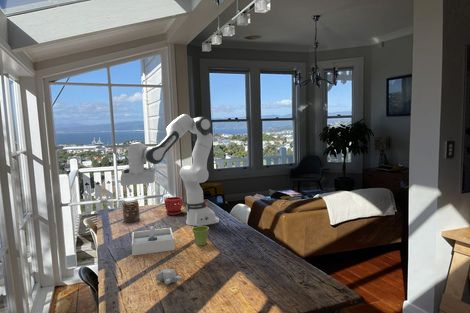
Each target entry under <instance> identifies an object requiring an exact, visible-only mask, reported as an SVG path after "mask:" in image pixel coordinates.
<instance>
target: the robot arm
mask: <svg viewBox="0 0 470 313" xmlns="http://www.w3.org/2000/svg"><path fill="white" fill-rule="evenodd" d="M187 132H188V133H190V134H191V135H196V141H195V143H194V147H193V150H192V153H191V158H192V164H187V165H183V166H182V167H181V168H180V169H179V176H180V179H181V180H182V182H183V185H184V188H185V192H186V206H185V207H186V211H187V212H186V214H187V215H186V222H185V224H186V225H187V226H188V225H189V226H195V227H198V226H207V225H213V224H218V223H219V222H220V218H218V217H217V216H216V212H215V211H214V210H212V209H211V208H209V207H208V206H209V203H208V202H206V201H204V191H203V188H202V187H201V185H200V184H202V183H205V182H206V181H207V180H209V175H210V174H209V170H208V165H207V164H208V158H209V156H210V153H211V149H212V146H213V141H214V136H213V134H212V133H211V132H212V122H211V119H209V118H208V117H205V116H197V117H194V118H192V117H191V116H190V115H189V114H186V113H182V114H181V115H179V116H177V117H176V118H175V119H173V120H172V121H171V122H170V123H169V124H168V125H167V127H166V128H165V134H166V137H165V138H164V139H162V141H161V142H160V143H159V144H158V145H155V146H152V147H151V146H149V145H146V144H143V143H141V142H139V141H137V142H132V143H130V144H129V145H128V147H127V158H128V167H125V168H122V170H121V174H120V186H126V188H127V190H128V192H129V193H132V192H133V190H132V188H130V186H134V185H143V184H146V187H144V192H146V191H148V188H149V187H150V186H149V185H150V184H153V183H155V182H156V181H155V180H156V179H155V169H154V168H152V167H149V168H147V167H145V166H144V165H145V163H150V164H153V165H158V164H160V163H161V162H163V160H164V157H165V155H166V153H168V152H169V150H170V149H171V148H172V147H173V146H174V145H175V143H176V142H177V141H178V140H179V139H181V137H182V136H184V135H185V134H186V133H187Z"/></svg>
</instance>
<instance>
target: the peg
mask: <svg viewBox="0 0 470 313" xmlns="http://www.w3.org/2000/svg"><path fill="white" fill-rule="evenodd" d="M155 227H156V226H155V225H151V226H149V227H148V230H149V234H150V241H151V240H156V237H155V229H156V228H155Z"/></svg>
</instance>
